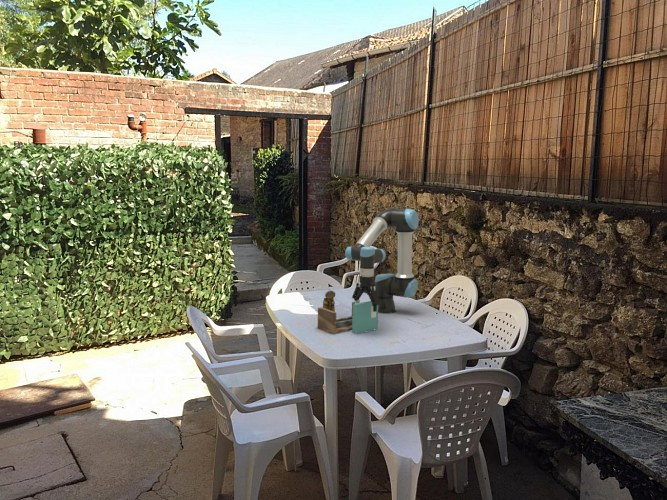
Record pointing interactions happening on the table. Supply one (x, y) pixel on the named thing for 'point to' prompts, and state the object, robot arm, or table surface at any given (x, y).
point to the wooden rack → (333, 321)
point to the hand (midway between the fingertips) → (365, 314)
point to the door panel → (363, 317)
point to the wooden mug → (329, 301)
